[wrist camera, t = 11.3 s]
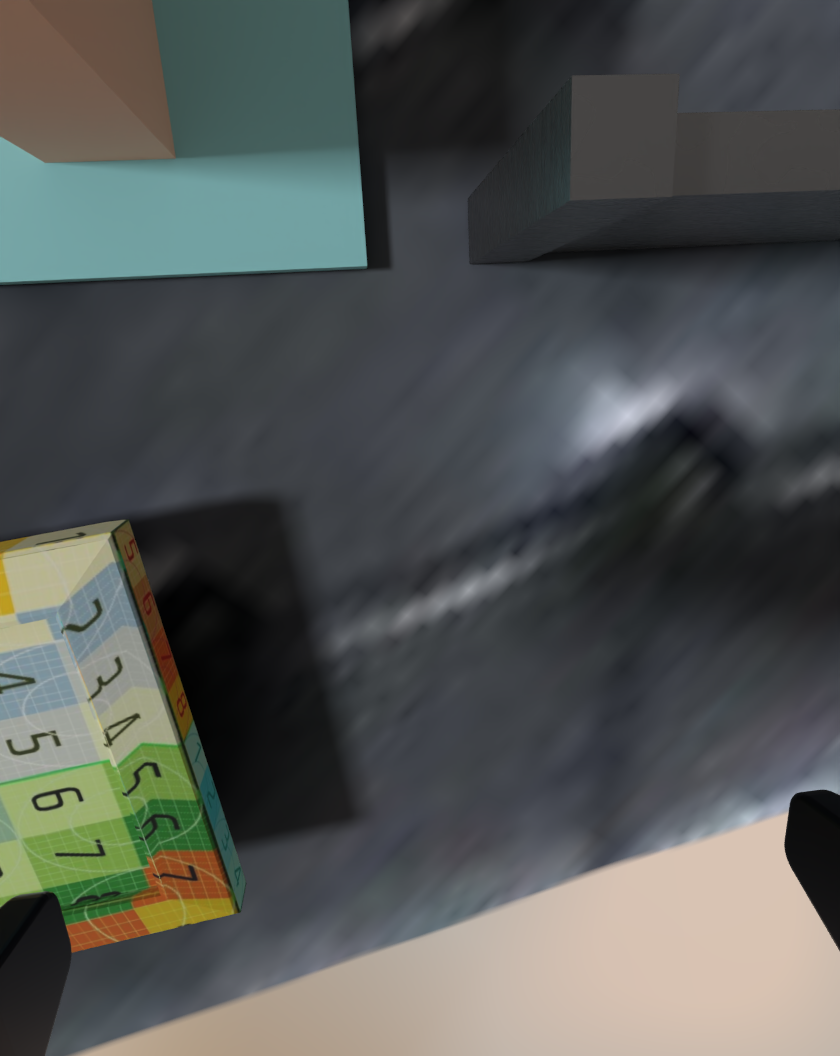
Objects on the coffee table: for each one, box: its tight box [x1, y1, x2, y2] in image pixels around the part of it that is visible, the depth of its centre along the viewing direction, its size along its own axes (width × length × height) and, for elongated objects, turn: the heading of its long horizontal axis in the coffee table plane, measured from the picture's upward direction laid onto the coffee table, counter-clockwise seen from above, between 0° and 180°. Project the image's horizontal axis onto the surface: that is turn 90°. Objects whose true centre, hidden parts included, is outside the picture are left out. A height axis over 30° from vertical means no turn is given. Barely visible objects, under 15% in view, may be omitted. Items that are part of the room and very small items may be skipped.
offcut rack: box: [468, 74, 840, 264], centre depth 13 cm, size 12×2×8 cm, turn 93°
